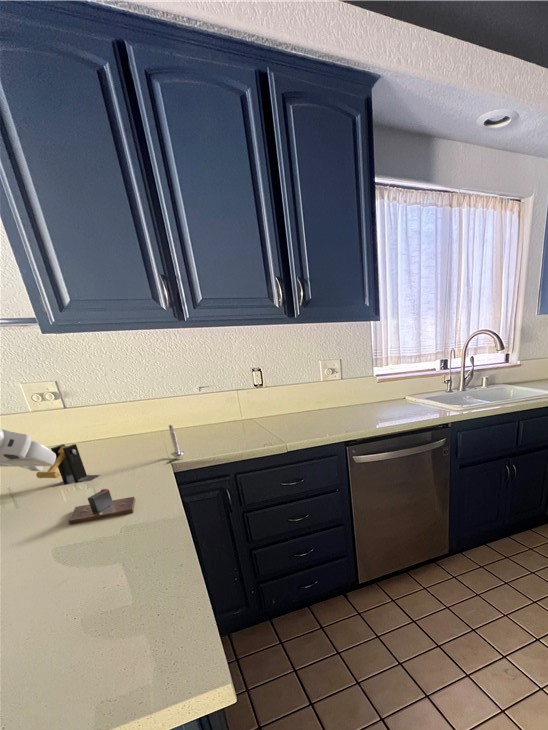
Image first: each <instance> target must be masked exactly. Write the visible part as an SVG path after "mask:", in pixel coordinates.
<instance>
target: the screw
mask: <svg viewBox="0 0 548 730" xmlns="http://www.w3.org/2000/svg"><path fill="white" fill-rule="evenodd" d="M168 429H169V435H170V439H171V443H172V447H173V452H171V453H170V456H171V457H174V460H176V461H178V460H183V459H184V458H183V455H185V451H183V450H180V447H179V444H178V439H177V435H176V432H175V430H174V429H175V428H174V425H172V424H169V425H168Z"/></svg>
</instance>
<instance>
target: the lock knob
mask: <svg viewBox="0 0 548 730" xmlns="http://www.w3.org/2000/svg"><path fill="white" fill-rule="evenodd" d="M112 500H113V497H112V494H111V491H110V490H109V489H108V488H102V489H100V491H98V492H96V493H95V494H92V495H91V496H89V497H87V501H88V505H89V504H90V507H91V510H92V512H100V511H101V510H103V509H105V508H106V507H108V506H110V505H111V504H113V501H112Z"/></svg>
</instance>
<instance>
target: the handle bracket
mask: <svg viewBox="0 0 548 730" xmlns="http://www.w3.org/2000/svg"><path fill="white" fill-rule="evenodd" d="M62 446H67V447H64V448H63V451H64V453H65V456H66V457H65V458H64V459H63V460H62V462H61V463H60V464H59V466H58V467H57V468H58V472H59V473H60V477H61V479H62V480H61V481H60V482H58V483H56V484H53V485H51V486H50V488H54V487H60V486H67V485H72V484H79V483H85V482H91V481H93V480H95V479H97V478H99V477H101V474H87V472H86V469H85V466H84V462H83V460H82V457H81V453H80V452H79V449H78V445H77V444H76V443H73V444H70V445H65V444H64V443H63V444H59V445H56V446H53V447H50V450H51V451H52V452H54V453H55V454H56V459H57V458H58V457H59V455H60V454H59V453H58V451H59V450H60V448H61V447H62ZM55 461H56V460H55Z"/></svg>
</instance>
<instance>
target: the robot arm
mask: <svg viewBox="0 0 548 730" xmlns="http://www.w3.org/2000/svg"><path fill="white" fill-rule="evenodd" d="M55 460H56V454H55V453H54V452H52V450H51V449H50V448H48V447H46V446H45V445H43V444H41V443H39V442H37V441H35V440H33V438H32V437H31V436H30V435H29V434H26V433H20V432H14V431H10V430H7V429H3V428H0V468H2V467H4V468H5V467H10V468H11V467H15V468H16V467H19V468H23V469H26V470H29V471H31V472H43V470H44V467H51V466H53V465H54V463H55Z"/></svg>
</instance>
